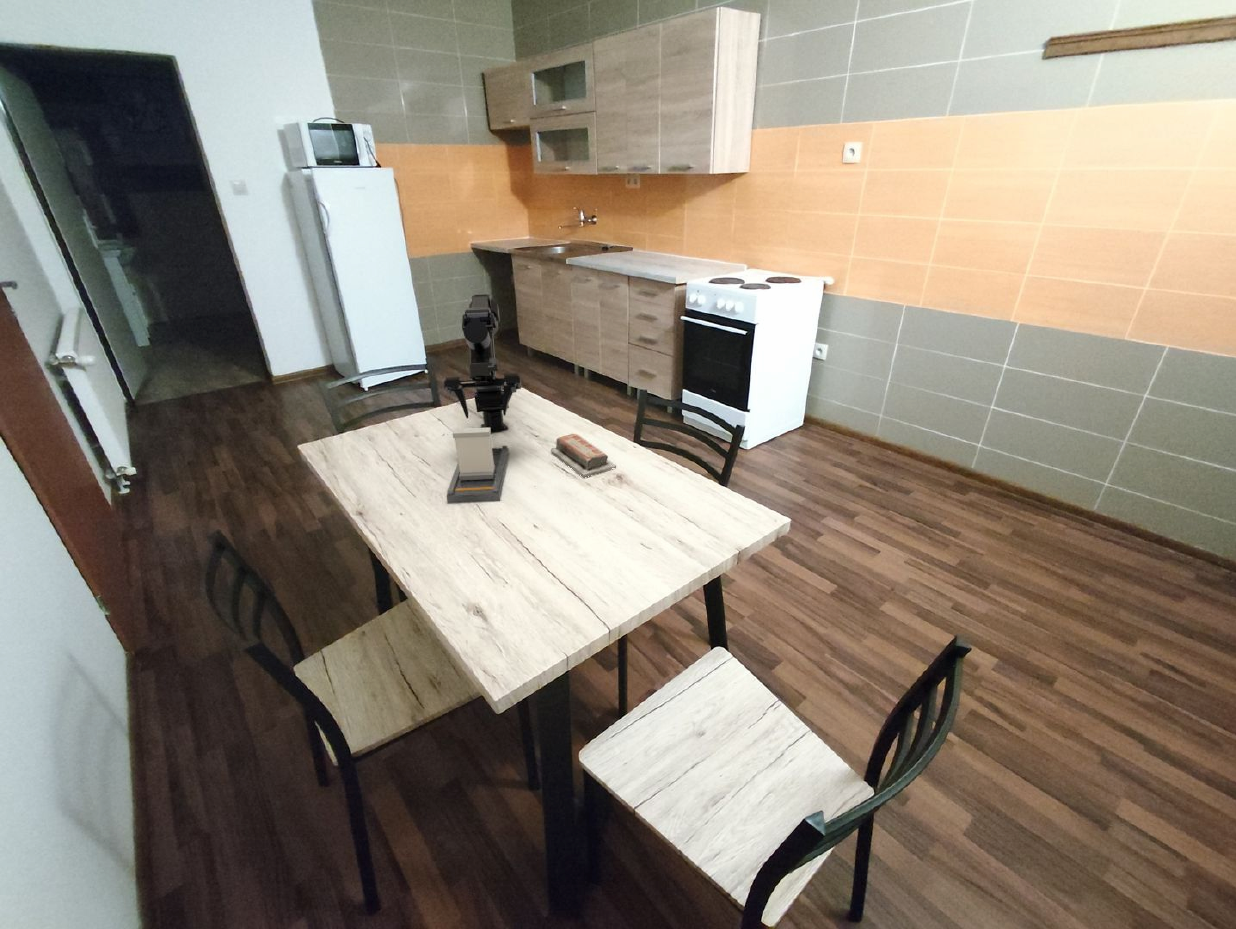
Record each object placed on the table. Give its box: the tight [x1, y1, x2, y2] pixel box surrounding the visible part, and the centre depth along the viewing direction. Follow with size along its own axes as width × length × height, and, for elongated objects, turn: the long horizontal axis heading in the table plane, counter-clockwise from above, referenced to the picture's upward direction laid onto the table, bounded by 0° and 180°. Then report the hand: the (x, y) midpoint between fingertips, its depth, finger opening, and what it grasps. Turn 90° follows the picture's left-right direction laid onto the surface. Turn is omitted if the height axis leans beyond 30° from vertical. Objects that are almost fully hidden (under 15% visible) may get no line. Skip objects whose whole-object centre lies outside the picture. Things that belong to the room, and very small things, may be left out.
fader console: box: [446, 445, 510, 504], centre depth 142 cm, size 24×12×3 cm, turn 4°
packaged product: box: [550, 433, 617, 479], centre depth 149 cm, size 18×5×10 cm
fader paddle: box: [452, 427, 496, 480], centre depth 136 cm, size 5×8×12 cm, turn 94°
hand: (485, 416), depth 143 cm, fingers open, 9 cm apart
